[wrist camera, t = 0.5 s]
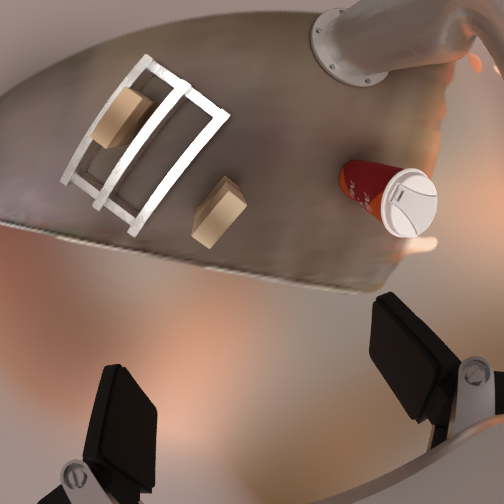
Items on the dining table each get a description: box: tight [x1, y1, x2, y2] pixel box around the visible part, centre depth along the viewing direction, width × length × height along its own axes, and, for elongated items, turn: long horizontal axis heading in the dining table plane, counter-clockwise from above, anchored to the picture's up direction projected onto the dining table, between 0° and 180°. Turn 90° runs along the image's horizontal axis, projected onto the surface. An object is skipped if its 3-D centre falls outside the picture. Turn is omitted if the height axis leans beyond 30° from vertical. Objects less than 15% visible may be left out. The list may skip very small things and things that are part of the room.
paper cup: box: [339, 160, 437, 237], centre depth 31 cm, size 8×8×14 cm
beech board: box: [191, 176, 247, 249], centre depth 32 cm, size 6×2×9 cm, turn 138°
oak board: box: [90, 86, 160, 149], centre depth 26 cm, size 6×2×9 cm, turn 138°
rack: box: [60, 54, 230, 237], centre depth 29 cm, size 18×12×5 cm
